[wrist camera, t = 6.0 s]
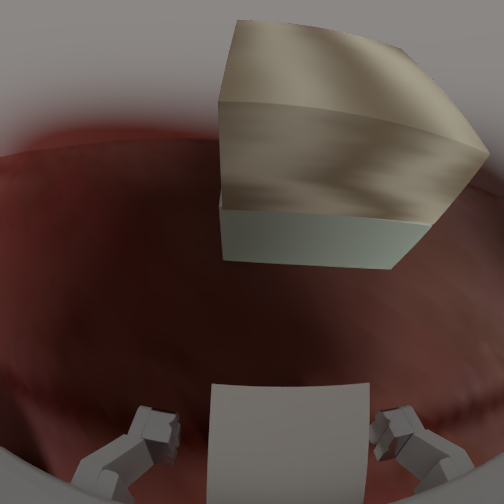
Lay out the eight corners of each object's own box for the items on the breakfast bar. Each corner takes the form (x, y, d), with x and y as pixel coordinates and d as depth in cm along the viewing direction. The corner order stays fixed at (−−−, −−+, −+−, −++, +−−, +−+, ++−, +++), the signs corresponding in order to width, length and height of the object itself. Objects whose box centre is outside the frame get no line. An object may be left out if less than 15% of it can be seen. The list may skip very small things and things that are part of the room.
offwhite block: (310, 390, 15) (369, 382, 8) (307, 460, 13) (363, 503, 6) (223, 388, 15) (211, 383, 8) (220, 460, 13) (206, 512, 6)
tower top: (379, 107, 20) (401, 49, 15) (433, 224, 14) (490, 154, 9) (235, 88, 19) (237, 19, 14) (222, 209, 14) (218, 101, 8)
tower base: (361, 157, 25) (381, 108, 20) (388, 270, 19) (432, 226, 14) (236, 143, 25) (237, 87, 19) (223, 262, 19) (218, 206, 14)
